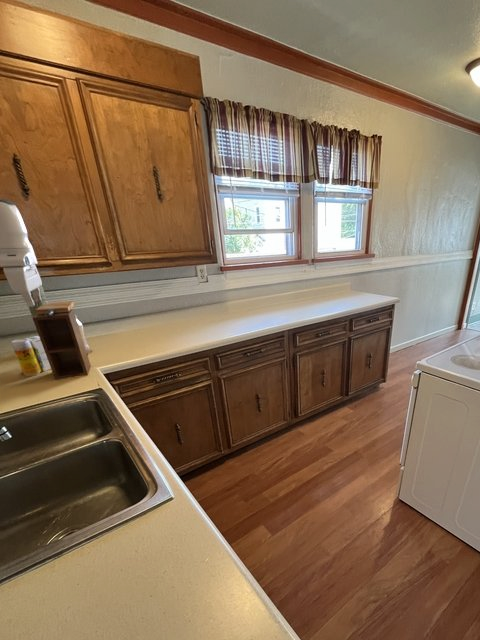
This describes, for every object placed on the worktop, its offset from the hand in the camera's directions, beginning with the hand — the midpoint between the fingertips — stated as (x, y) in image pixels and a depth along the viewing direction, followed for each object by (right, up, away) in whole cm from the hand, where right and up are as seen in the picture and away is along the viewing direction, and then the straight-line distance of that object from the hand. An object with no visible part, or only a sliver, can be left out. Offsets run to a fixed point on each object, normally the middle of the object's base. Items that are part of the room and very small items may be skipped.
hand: (35, 303), depth 108 cm
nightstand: (-12, -20, +36) cm, 43 cm away
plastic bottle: (-22, -9, +58) cm, 63 cm away
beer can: (-29, -21, +35) cm, 50 cm away
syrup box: (-28, -18, +40) cm, 52 cm away
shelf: (-13, +5, +26) cm, 30 cm away
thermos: (-43, -5, +65) cm, 78 cm away
